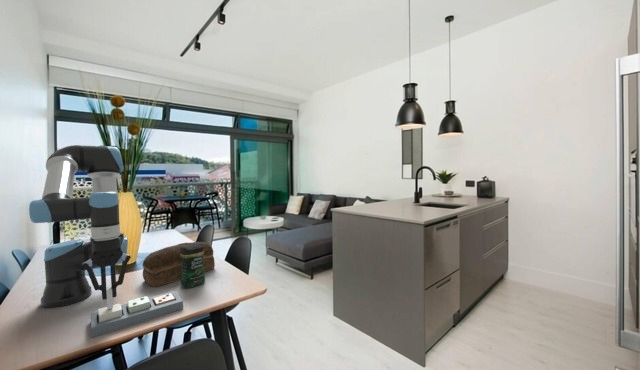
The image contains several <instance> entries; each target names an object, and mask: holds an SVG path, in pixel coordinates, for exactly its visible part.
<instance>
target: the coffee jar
mask: <svg viewBox="0 0 640 370" xmlns="http://www.w3.org/2000/svg"><path fill="white" fill-rule="evenodd" d="M203 254H204V247H203V244H201V243H195V244H190V245H185V246H182V247H181V251H180V256H181V258H182V275H181V279H180V286H181V287H182V288H186V289H191V288H194V287H197V286H199V285H203V284H204V283H205V282H206V277H205V276H206V275H205V272H204V269H203Z"/></svg>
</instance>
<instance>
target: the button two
mask: <svg viewBox="0 0 640 370" xmlns="http://www.w3.org/2000/svg"><path fill="white" fill-rule="evenodd" d="M148 298H149V297H148V296H147V295H146V296H141V297H139V298H134V299H130V300H128V301H127V303H126V304H127V305H128V311H129V314H130V313H134V312H137V311H140V310H144V309H147V308H150V301H149V299H148Z"/></svg>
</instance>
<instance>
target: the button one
mask: <svg viewBox="0 0 640 370" xmlns="http://www.w3.org/2000/svg"><path fill="white" fill-rule="evenodd" d="M121 305H122V304H121V303H115V304H113V308H112V309H108V310H107V306H105V307H101V308H97V309H98V310H97V312H99V322H103V321H106V320H110V319H113V318H117V317H120V316H122V308H121Z"/></svg>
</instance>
